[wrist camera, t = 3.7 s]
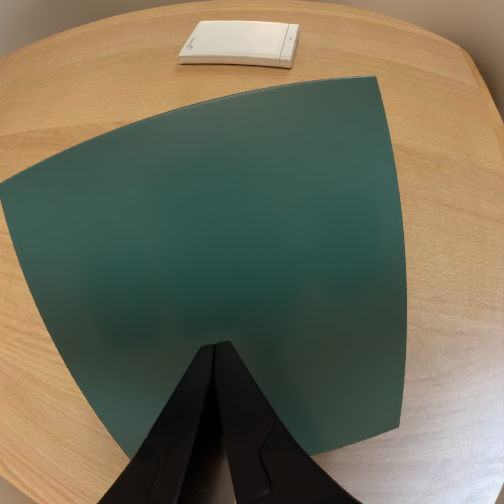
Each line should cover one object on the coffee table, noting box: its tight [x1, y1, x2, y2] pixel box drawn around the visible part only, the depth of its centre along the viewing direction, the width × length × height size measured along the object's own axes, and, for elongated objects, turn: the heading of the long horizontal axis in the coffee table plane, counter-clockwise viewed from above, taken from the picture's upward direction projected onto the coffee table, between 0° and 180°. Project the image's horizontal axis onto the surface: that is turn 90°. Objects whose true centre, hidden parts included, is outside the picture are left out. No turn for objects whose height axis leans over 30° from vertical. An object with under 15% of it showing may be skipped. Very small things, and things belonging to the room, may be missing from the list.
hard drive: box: [179, 21, 299, 68], centre depth 30 cm, size 2×8×12 cm
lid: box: [0, 75, 407, 460], centre depth 10 cm, size 14×13×1 cm
